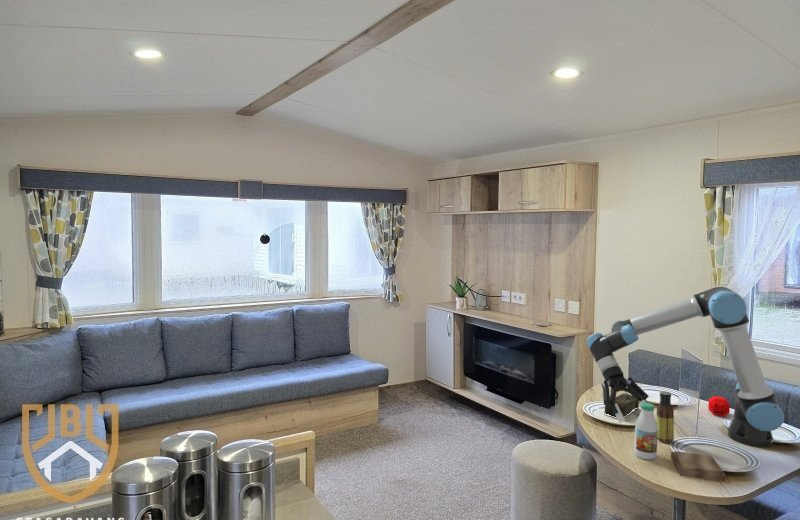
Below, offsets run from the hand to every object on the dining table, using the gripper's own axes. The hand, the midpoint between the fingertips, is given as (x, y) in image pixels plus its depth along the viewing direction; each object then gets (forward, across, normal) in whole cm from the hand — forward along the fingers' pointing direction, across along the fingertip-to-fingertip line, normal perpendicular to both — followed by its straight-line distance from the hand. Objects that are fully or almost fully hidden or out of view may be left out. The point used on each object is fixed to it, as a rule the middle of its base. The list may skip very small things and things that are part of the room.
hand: (636, 419), depth 197 cm
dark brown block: (-14, -24, -33) cm, 42 cm away
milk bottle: (+12, -1, -6) cm, 14 cm away
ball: (-2, -63, -20) cm, 67 cm away
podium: (+22, -11, +4) cm, 25 cm away
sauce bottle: (+7, -18, -12) cm, 23 cm away
